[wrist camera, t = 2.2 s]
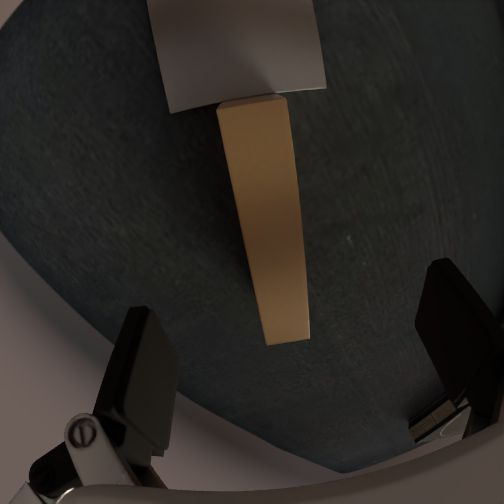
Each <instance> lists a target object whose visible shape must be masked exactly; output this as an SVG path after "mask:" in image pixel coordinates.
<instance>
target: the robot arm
mask: <svg viewBox="0 0 504 504" xmlns="http://www.w3.org/2000/svg"><path fill="white" fill-rule="evenodd" d="M415 327H416V330H417V332H418V334H419V336H420V338H421V340H422V342H423V344H424V346H425V348H426V350H427V352H428V354H429V356H430V358H431V360H432V363H433V365H434V367H435V369H436V371H437V373H438V375H439V378H440V380H441V382H442V384H443V387H444V389H445V391H446V394H447V396H448V398H449V400H450V401H451V402H452V403H454V404H455V406H456V409H457V408H459V407H461V406H464V405H466V404H468V403H469V405H470V408H471V411H470V414H469V418H468V421H467V424H466V428H465V431H464V434H463V437H462V440H460V441H458V442H456V443H453V444H451V445H449V446H447V447H444V448H442V449H439V450H437V451H434V452H432V453H429V454H427V455H424V456H421V457H419V458H416V459H413V460H410V461H407V462H404V463H401V464H398V465H395V466H392V467H389V468H385V469H382V470H378V471H375V472H371V473H367V474H363V475H359V476H355V477H351V478H346V479H341V480H336V481H331V482H325V483H320V484H313V485H307V486H300V487H292V488H282V489H272V490H258V491H235V492H234V491H230V492H227V491H225V492H221V491H220V492H219V491H218V492H217V491H216V492H215V491H189V490H171V489H168V488H167V487H166V485H165V484H164V483H163V481H162V480H161V479H160V477H159V476H158V475H157V473H156V472H155V470H154V469H153V467H152V466H151V464H150V463H151V456H161V457H163V456H164V450H167V449H168V447H169V440H170V433H171V425H172V418H173V411H174V404H175V397H176V390H177V384H178V377H179V371H180V360H179V357H178V356H177V354H176V352H175V350H174V348H173V347H172V345H171V343H170V341H169V339H168V337H167V335H166V334H165V332H164V330H163V328H162V326H161V324H160V322H159V320H158V318H157V316H156V314H155V312H154V311H153V310H149V308H148V307H147V306H138V307H131V308H129V310H128V312H127V315H126V318H125V320H124V323H123V325H122V328H121V331H120V333H119V336H118V339H117V342H116V344H115V347H114V350H113V352H112V355H111V357H110V360H109V363H108V366H107V369H106V372H105V375H104V378H103V381H102V384H101V387H100V390H99V393H98V397H97V400H96V403H95V407H94V410H93V413H92V414H88V413H81V414H78V415H76V416H74V417H73V418H72V419H71V420H70V421H69V422H68V424H67V426H66V428H65V432H64V438H65V441H64V442H62V443H61V444H60V445H58V446H57V447H55V448H54V449H52V450H51V451H49V452H48V453H47V454H45V455H44V456H42V457H41V458H39V459H38V460H36V461H35V462H34V463H33V464H32V466H31V468H30V472H29V480H30V483H28V482H25V483H24V485H23V486H22V487H21V488H20V490H19V491H18V492H17V494H16V495H15V496H14V497H13V499H12V500H11V501H10V503H9V504H504V330H503V328H502V327H501V325H500V324H499V322H498V321H497V319H496V318H495V317H494V315H493V314H492V312H491V311H490V309H489V308H488V307H487V305H486V304H485V303H484V301H483V300H482V299H481V297H480V296H479V295H478V293H477V292H476V291H475V289H474V288H473V287H472V286H471V284H470V283H469V282H468V281H467V279H466V278H465V277H464V276H463V274H462V273H461V272H460V271H459V269H458V268H457V267H456V266H455V265H454V263H453V262H452V261H451V260H450V259H449V258H443V259H438V260H434V261H433V262H432V263H431V265H430V266H429V267H428V269H427V274H426V278H425V283H424V287H423V292H422V296H421V300H420V304H419V307H418V311H417V315H416V318H415Z"/></svg>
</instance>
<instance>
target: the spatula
mask: <svg viewBox="0 0 504 504" xmlns="http://www.w3.org/2000/svg"><path fill="white" fill-rule="evenodd" d="M146 1H147V6H148V11H149V17H150V22H151V27H152V32H153V37H154V42H155V47H156V52H157V57H158V61H159V66H160V71H161V75H162V80H163V84H164V89H165V93H166V97H167V102H168V106H169V110H170V113H176V112H180V111H184V110H188V109H192V108H196V107H201V106H205V105H210V104H215V103H220V102H222V103H221V104H220V105H219V107H218V108H217V109H216V112H217V117H218V122H219V126H220V131H221V136H222V141H223V146H224V150H225V155H226V160H227V165H228V169H229V174H230V179H231V184H232V188H233V193H234V198H235V202H236V207H237V212H238V216H239V221H240V226H241V231H242V235H243V240H244V244H245V249H246V254H247V258H248V263H249V268H250V272H251V277H252V282H253V286H254V291H255V295H256V300H257V305H258V309H259V314H260V318H261V323H262V327H263V332H264V337H265V341H266V345H272V344H279V343H285V342H291V341H297V340H303V339H309V338H310V328H309V310H308V294H307V279H306V266H305V254H304V242H303V231H302V220H301V210H300V201H299V192H298V183H297V174H296V166H295V158H294V150H293V142H292V135H291V128H290V120H289V114H288V107H287V100H286V98H284V97H282V96H280V95H277V94H275V93H281V92H290V91H299V90H310V89H323V88H326V87H327V86H326V79H325V72H324V65H323V58H322V52H321V46H320V40H319V34H318V29H317V23H316V18H315V13H314V8H313V3H312V0H146Z"/></svg>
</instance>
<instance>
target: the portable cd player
mask: <svg viewBox="0 0 504 504" xmlns="http://www.w3.org/2000/svg"><path fill="white" fill-rule="evenodd" d="M470 411H471V408H470V405H469V403H468V404H466V405H464V406H461V407H459V408H457V409H456V406H455V404H454V403H452V402H451V401H450V400H449V398H448V396H447V394H446V393H445V394H444V395H443V396H442V397H440V398H439V399H438V400H437V401H435V402H434V403H433V404H432V405H430V406H429V407H428V408H427V409H425V410H424V411H423V412H421V413H420V414H419V415H417V416H416V417H414V418H413V419H412V420H410V421H409V428H408V429H409V431H410V433H411V435H412V437H413V439H414V441H415V443H421V442H426V441H431V440H436V439H440V438H444V437H448V436H452V435H456V434H460V433H464V431H465V428H466V424H467V421H468V418H469V414H470Z"/></svg>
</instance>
